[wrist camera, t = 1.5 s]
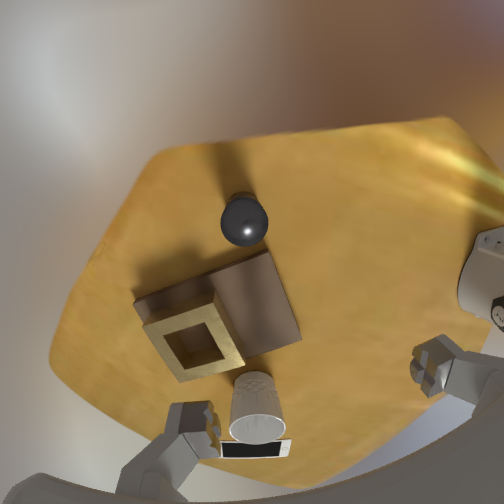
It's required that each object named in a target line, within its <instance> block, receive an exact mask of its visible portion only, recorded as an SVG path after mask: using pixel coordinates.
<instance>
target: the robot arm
mask: <svg viewBox="0 0 504 504" xmlns="http://www.w3.org/2000/svg"><path fill="white" fill-rule="evenodd" d="M458 301H459V304H460V307H461V308H462V309H463V310H464V311H466V312H469V313H472V314H473V315H474V316H475V317H477V318H482V319H484V320H486V321H488V322H490V323H492V324H493V325H495V326H497V327H499V329H500V330H501V331H502V332H504V226H503V227H499V228H496V229H492V230H488V231H485V232H481V233H479V234H478V235H477V238H476V241H475V244H474V248H473V251H472V253H471V255H470V256H469V258H468V260H467V262H466V264H465V266H464V268H463V271H462V274H461V277H460V281H459V287H458ZM412 355H413V356H414V358H413V360H412V361H411V363H410V373H411V376H412V379H413V380H414V381H415V383H419V384H421V390H422V391H423V393H424V394H425V395H426V396H427V398H430V397H432V396H434V395H436V394H438V393H440V392H442V391H444V392H446V393H448V394H451V395H453V396H455V397H458V398H460V399H462V400H465V401H467V402H469V403H472V404H474V405H476V407H475V409H474V411H473V413H472V418H471V419H469V420H468V421H466V422H465V423H463V424H462V425H460V426H459V427H457V428H456V429H454V430H453V431H451V432H449V433H448V434H446V435H444V436H443V437H441V438H439V439H438V440H436V441H434V442H432V443H430V444H429V445H427V446H425V447H423V448H421V449H419V450H417V451H416V452H413V453H411V454H410V455H407V456H405V457H403V458H401V459H399V460H397V461H394V462H392V463H390V464H387V465H385V466H383V467H380V468H378V469H375V470H373V471H370V472H368V473H365V474H362V475H359V476H356V477H353V478H350V479H347V480H344V481H341V482H338V483H334V484H330V485H327V486H323V487H319V488H315V489H311V490H307V491H302V492H298V493H293V494H287V495H282V496H275V497H269V498H262V499H253V500H242V501H229V502H188V500H187V499H186V498H185V497H183V496H182V495H181V494H180V493H179V492H178V491H177V489H178V488H179V487H180V486H181V484H182V483H183V482H184V480H185V479H186V477H187V476H188V475H189V474H190V472H191V471H192V470H193V468H194V467H195V466H196V464H197V463H198V461H199V459H207V458H219V457H221V443H220V441H219V439H218V438H219V437H220V436H221V425H220V420H219V417H218V415H217V413H215V412H214V406H213V404H212V402H211V401H210V400H206V401H193V402H180V403H172V404H171V405H170V408H169V413H168V417H167V422H166V426H165V431H164V434H160V435H159V436H158V437H156V438H155V439H154V440H153V441H152V442H151V443H150V444H149V445H148V446H147V447H146V448H144V449H143V450H142V451H141V452H140V453H139V454H138V455H137V456H136V457H134V458H133V459H132V460H131V461H130V462H129V463H128V464H126V465H125V466H124V467H123V468H122V470H121V474H120V477H119V481H118V484H117V488H116V492H115V494H114V493H109V492H105V491H100V490H96V489H92V488H88V487H85V486H81V485H78V484H74V483H71V482H68V481H65V480H62V479H59V478H56V477H54V476H51V475H48V474H45V473H37V474H35V475H32V476H30V477H29V478H27V479H25V480H23V481H22V482H20V483H18V484H16V485H15V486H14V487H12V489H11V490H10V491H9V493H8V494H7V496H6V497H5V499H4V501H3V503H2V504H504V358H500V357H495V356H490V355H486V354H481V353H476V352H471V351H466V352H465V351H463V350H462V349H461V348H460V347H459V346H458V345H457V344H455V343H454V342H453V341H452V340H451V339H450V338H448V337H447V336H446V335H444V334H441V335H439V336H437V337H435V338H433V339H430V340H428V341H426V342H424V343H422V344H419V345H417V346H415V347H414V349H413V352H412Z"/></svg>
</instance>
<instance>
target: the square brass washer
mask: <svg viewBox="0 0 504 504" xmlns="http://www.w3.org/2000/svg"><path fill="white" fill-rule="evenodd" d="M203 322H205V323H206V325H207V327H208V329H209V331H210V333H211V334H212V336H213V338H214V340H215V342H216V343H217V345H214V346H211V347H207V348H204V349H201V350H197V351H194V352H190V353H189V352H188V350H187V349H186V347H185V345H184V344H183V342H182V341H181V339H180V337H179V336H178V334H177V332H176V331H179V330H182V329H185V328H188V327H191V326H194V325H197V324H200V323H203ZM142 328H143V329H144V331H145V333H146V334H147V336H148V337H149V339H150V341H151V342H152V344H153V345H154V347H155V348H156V350H157V351H158V353H159V354H160V356H161V357H162V359H163V360H164V362H165V363H166V365H167V366H168V368H169V369H170V370H171V372H172V373H173V375H174V376H175V377H176V379H177V380H178V382H179V383H181V382H186V381H190V380H194V379H198V378H202V377H206V376H210V375H213V374H217V373H221V372H224V371H228V370H231V369H235V368H238V367H241V366H245V365H246V360H245V347H244V345H243V343H242V341H241V339H240V337H239V335H238V333H237V331H236V329H235V327H234V325H233V323H232V321H231V319H230V317H229V315H228V313H227V311H226V309H225V307H224V305H223V303H222V301H221V299H220V297H219V295H218V292H217V290H216V289H214V290H211V291H208V292H205V293H203V294H200V295H197V296H194V297H192V298H189V299H186V300H183V301H181V302H178V303H175V304H172V305H169V306H167V307H164V308H161V309H158V310H155V311H153V312H150V314H149V316H148V317H147V319H146V321H145V323H144V324H143V326H142Z"/></svg>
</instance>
